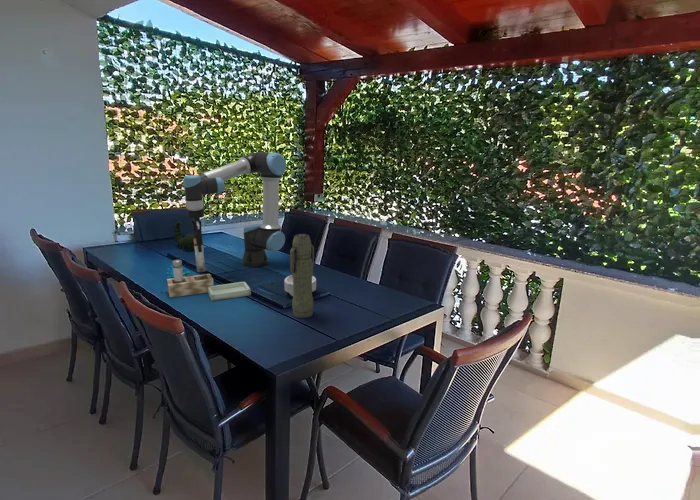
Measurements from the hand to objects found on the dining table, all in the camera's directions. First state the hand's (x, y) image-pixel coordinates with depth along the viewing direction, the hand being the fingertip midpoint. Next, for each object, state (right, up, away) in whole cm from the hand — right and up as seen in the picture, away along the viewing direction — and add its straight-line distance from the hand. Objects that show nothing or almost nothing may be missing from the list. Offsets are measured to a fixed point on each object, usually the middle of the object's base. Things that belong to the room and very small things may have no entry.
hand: (199, 256), depth 203 cm
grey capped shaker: (-9, -17, 0) cm, 20 cm away
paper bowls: (+49, -18, 0) cm, 52 cm away
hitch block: (-5, -17, +2) cm, 18 cm away
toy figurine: (-35, +4, +74) cm, 82 cm away
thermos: (+52, -25, -22) cm, 62 cm away
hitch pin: (0, -7, +2) cm, 7 cm away
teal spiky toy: (-17, -13, +17) cm, 27 cm away
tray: (+15, -18, -1) cm, 23 cm away
